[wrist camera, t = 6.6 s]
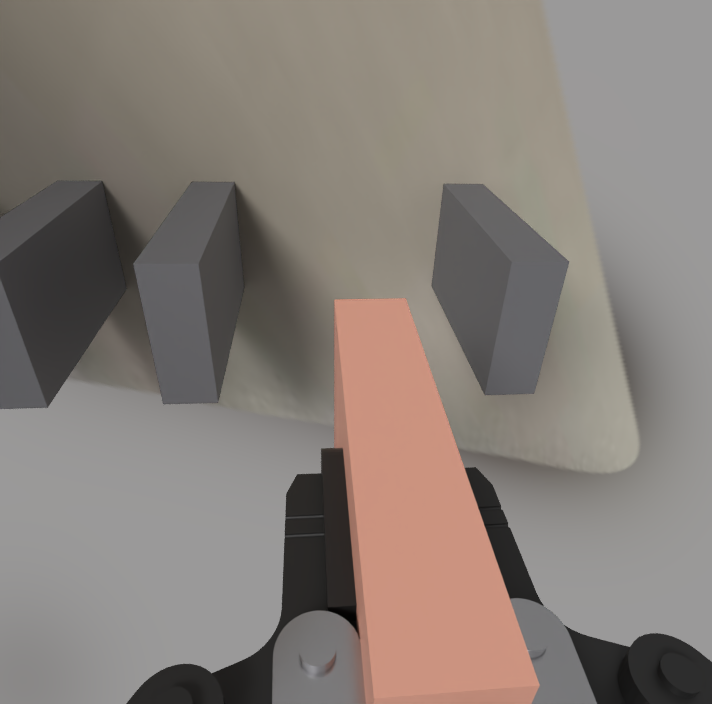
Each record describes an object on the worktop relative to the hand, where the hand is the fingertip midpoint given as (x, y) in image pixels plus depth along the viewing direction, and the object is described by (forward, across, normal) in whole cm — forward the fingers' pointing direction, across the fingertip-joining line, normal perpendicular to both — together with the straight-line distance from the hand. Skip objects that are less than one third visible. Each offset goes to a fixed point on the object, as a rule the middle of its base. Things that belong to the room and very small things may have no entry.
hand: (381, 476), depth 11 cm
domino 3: (+15, -6, 0) cm, 16 cm away
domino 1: (+15, +11, 0) cm, 19 cm away
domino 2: (+15, +6, 0) cm, 16 cm away
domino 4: (+4, 0, 0) cm, 4 cm away
